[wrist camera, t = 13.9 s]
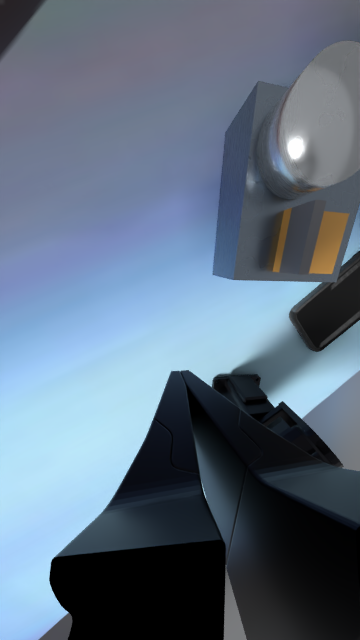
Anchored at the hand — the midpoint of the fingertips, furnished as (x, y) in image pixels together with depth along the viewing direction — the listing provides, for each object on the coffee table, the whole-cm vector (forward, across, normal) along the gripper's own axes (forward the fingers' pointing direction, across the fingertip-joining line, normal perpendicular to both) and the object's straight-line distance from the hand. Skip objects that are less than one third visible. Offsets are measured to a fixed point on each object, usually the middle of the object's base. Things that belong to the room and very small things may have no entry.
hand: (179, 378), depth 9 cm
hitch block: (+12, -10, -10) cm, 19 cm away
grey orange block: (+7, -9, -7) cm, 13 cm away
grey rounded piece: (+11, -9, -13) cm, 19 cm away
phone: (+13, -24, -2) cm, 27 cm away
